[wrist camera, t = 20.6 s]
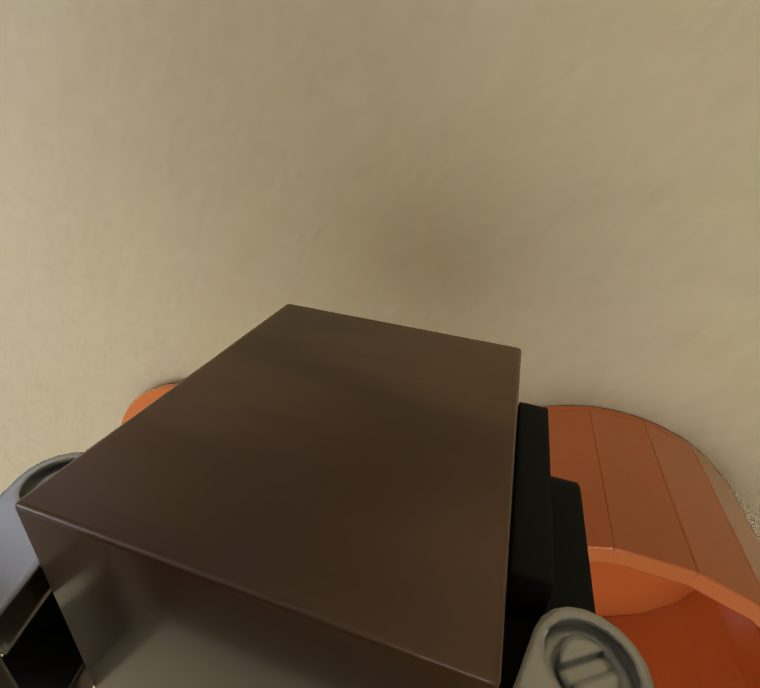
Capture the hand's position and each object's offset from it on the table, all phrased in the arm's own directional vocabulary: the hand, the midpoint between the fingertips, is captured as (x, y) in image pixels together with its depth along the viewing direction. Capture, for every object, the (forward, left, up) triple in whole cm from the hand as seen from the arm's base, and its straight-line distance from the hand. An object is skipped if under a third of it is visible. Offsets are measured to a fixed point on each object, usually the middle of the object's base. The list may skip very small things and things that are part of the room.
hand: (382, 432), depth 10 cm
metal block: (0, 0, 0) cm, 0 cm away
